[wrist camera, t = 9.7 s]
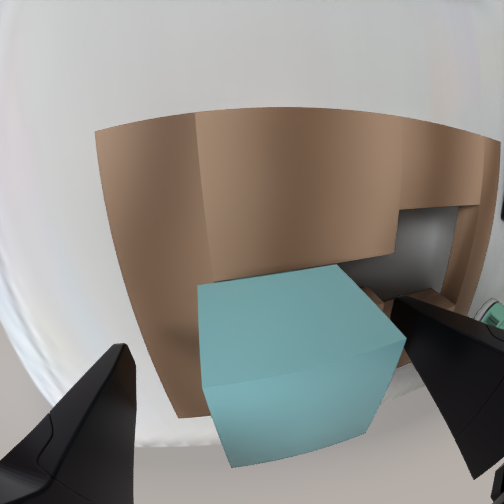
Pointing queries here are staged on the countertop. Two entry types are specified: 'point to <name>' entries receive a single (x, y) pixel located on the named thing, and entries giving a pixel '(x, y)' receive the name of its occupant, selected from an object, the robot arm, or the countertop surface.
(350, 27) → the countertop surface
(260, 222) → the keyhole plate
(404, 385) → the countertop surface
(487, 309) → the spray can
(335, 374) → the teal peg
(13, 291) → the countertop surface
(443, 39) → the countertop surface
